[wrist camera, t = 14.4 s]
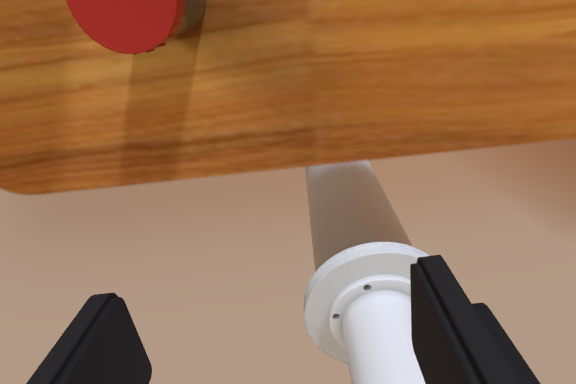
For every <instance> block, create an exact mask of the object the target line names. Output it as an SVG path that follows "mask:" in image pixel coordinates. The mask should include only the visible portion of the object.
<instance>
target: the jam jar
mask: <svg viewBox="0 0 576 384" xmlns="http://www.w3.org/2000/svg"><path fill="white" fill-rule="evenodd" d="M205 6H206V0H185V6H184V10H185V12H184V14H183V18H182V21H181V24H182V25H180V26H179V28H178V30H177V32H176V33H175V35H178V34H182V33H186V32H188V31H190V30H192V29H193V28H195V27H196V26H197V25H198V24H199V22H200V21H201V19H202V17H203V15H204V12H205Z"/></svg>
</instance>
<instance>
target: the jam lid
mask: <svg viewBox="0 0 576 384" xmlns="http://www.w3.org/2000/svg"><path fill="white" fill-rule="evenodd" d="M66 1H67V4H68V6H69V9H70V11H71V13H72V15H73V17H74V18H75V20H76V21H77V23H78V24H79V26H80V27H81V28H82V29H83V30H84V32H85V33H86V34H87V35H89V36H90V37H91V38H92V39H93V40H94V41H96V42H97V43H99V44H100V45H102V46H104V47H106V48H108V49H110V50H113V51H116V52H120V53H125V54H138V53H142V52H151V51H154V49H155V48H158V47H161V46H164V45H166V44H165V43H166V42H168V41H169V40H170V39H171V38H172V37H175V33H176V32H177V30H178V28H179V26H180V25H182V24H181V21H182V18H183V14H184V12H185V10H184V6H185V0H66Z"/></svg>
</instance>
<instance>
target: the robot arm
mask: <svg viewBox="0 0 576 384" xmlns="http://www.w3.org/2000/svg"><path fill="white" fill-rule="evenodd" d="M328 320H329V328H330V332H331V334H332V336H333V338H334V339H335V340H336V342H337V343H338V344H339V345H340V346H342V347H343V348H344V349H346V353H347V359H348V364H349V371H350V377H351V383H352V384H540V383H539V381H538V380H537V378H536V377H535V375H534V374H533V372H532V371H531V369H530V368H529V366H528V365H527V363H526V362H525V360H524V359H523V357H522V356H521V355H520V353H519V352H518V350H517V349H516V347H515V346H514V344H513V343H512V341H511V340H510V338H509V337H508V335H507V334H506V333H505V331H504V329H503V328H502V327H501V325H500V324H499V322H498V321H497V319H496V318H495V316H494V315H493V314H492V312H491V310H490V309H489V308H488V307H487V305H485V304H484V303H476V304H471V302H470V301H469V299H468V297H467V296H466V294H465V293H464V291H463V289H462V288H461V286H460V285H459V283H458V282H457V280H456V278H455V277H454V275H453V274H452V272H451V270H450V269H449V267H448V266H447V264H446V262H445V261H444V259H443V258H442V256H441V255H435V256H426V257H418V259H417V263H414V264H411V265H410V279H408V278H405V277H403V276H398V275H391V274H380V275H372V276H368V277H365V278H361V279H359V280H357V281H355V282H353V283H351V284H349V285H348V286H346V287H345V288H344V289H343V290H342V291H340V292H339V293H338V294H337V296H336V297H335V299H334V300H333V301H332V304H331V306H330V308H329V314H328ZM151 374H152V368H151V363H150V361H149V359H148V357H147V354H146V352H145V349H144V347H143V344H142V342H141V340H140V337H139V335H138V332H137V330H136V328H135V325H134V323H133V321H132V318H131V316H130V314H129V311H128V309H127V306H126V304H125V301H124V300H123V299H122V298H121V297H118V296H117V295H116V294H115V293H106V294H97V295H93V296H91V297H90V298H89V299H88V300H87V302H86V303H85V304H84V306H83V307H82V308H81V310H80V311H79V313H78V314H77V315H76V317H75V318H74V319H73V321H72V322H71V323H70V325H69V326H68V328H67V329H66V330H65V332H64V333H63V334H62V336H61V337H60V338H59V340H58V341H57V343H56V344H55V345H54V347H53V348H52V349H51V351H50V352H49V354H48V355H47V356H46V358H45V359H44V360H43V362H42V363H41V364H40V366H39V367H38V369H37V370H36V371H35V373H34V374H33V375H32V377H31V378H30V379H29V381H28V382H27V384H149V381H150V379H151Z"/></svg>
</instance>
